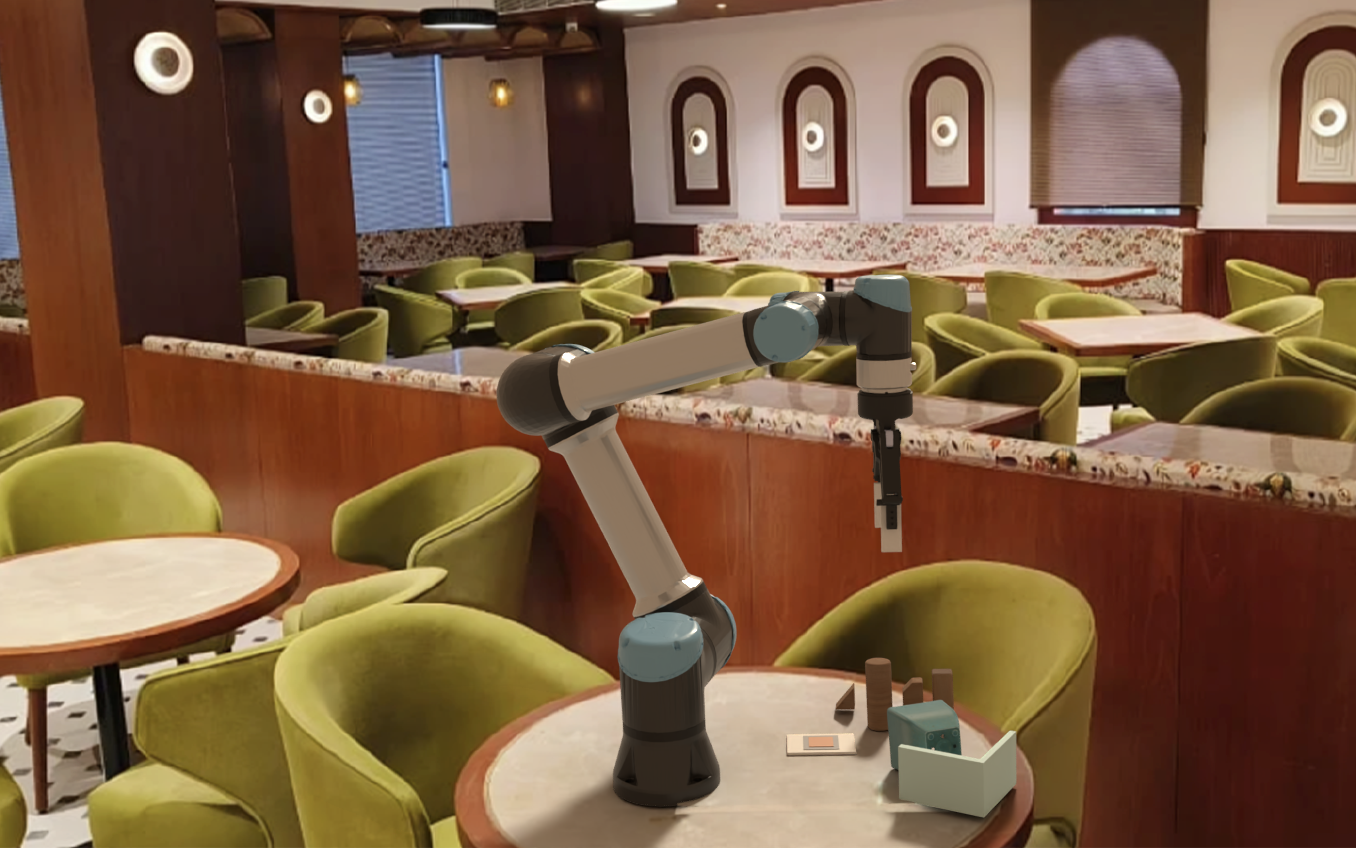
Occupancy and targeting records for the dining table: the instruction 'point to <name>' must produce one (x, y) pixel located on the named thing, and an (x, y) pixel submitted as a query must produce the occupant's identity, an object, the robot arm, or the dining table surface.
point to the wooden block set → (882, 691)
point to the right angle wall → (958, 777)
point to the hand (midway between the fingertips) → (887, 539)
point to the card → (821, 744)
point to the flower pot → (923, 728)
